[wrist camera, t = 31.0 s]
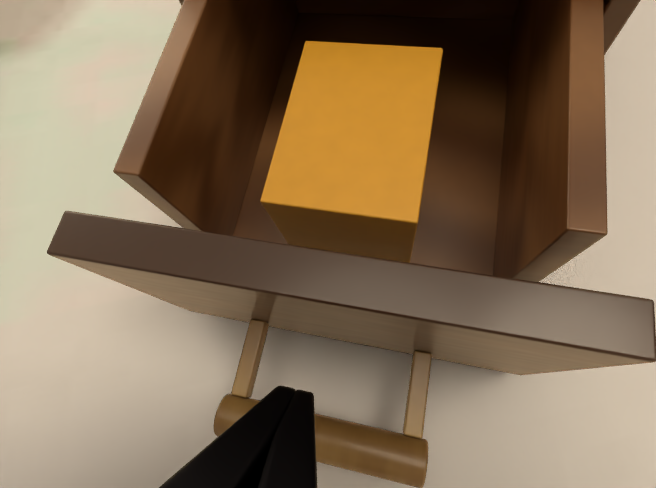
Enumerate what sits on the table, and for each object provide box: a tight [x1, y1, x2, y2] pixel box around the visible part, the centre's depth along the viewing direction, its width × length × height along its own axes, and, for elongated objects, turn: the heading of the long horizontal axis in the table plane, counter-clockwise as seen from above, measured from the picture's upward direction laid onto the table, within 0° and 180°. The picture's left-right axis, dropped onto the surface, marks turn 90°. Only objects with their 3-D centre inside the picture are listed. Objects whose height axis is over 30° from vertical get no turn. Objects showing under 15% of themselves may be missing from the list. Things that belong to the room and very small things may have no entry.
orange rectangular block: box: [260, 41, 443, 263], centre depth 14 cm, size 6×4×5 cm
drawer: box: [47, 0, 656, 488], centre depth 14 cm, size 21×13×8 cm, turn 169°
